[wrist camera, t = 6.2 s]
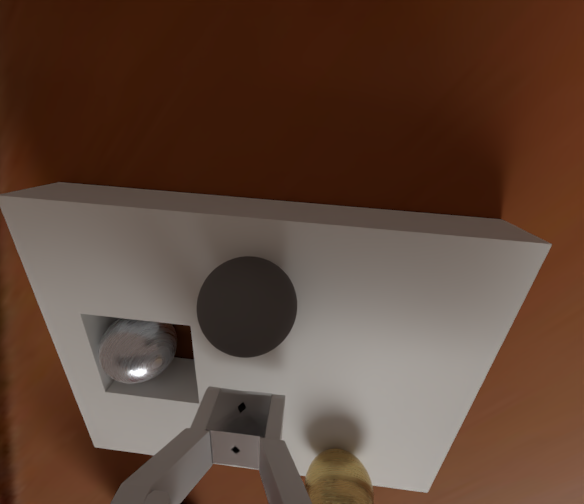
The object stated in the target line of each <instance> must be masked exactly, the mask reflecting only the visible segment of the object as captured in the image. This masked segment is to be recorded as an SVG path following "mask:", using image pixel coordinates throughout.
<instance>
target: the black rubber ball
mask: <svg viewBox="0 0 584 504" xmlns="http://www.w3.org/2000/svg"><path fill="white" fill-rule="evenodd" d="M296 315H297V296H296V292H295V289H294V286H293V284H292V282H291V280H290V279H289V277H288V275H287V274H286V273H285V272H284V271H283V270H282V269H281V268H280V267H279V266H277V265H276V264H274V263H272V262H271V261H269V260H266V259H263V258H260V257H253V256H244V257H237V258H234V259H231V260H228V261H226V262H224V263H222V264H221V265H219V266H218V267H217V268H215V269H214V270H213V271H212V272H211V273H210V274H209V275H208V277H207V278H206V279H205V281H204V283H203V285H202V287H201V289H200V292H199V295H198V299H197V318H198V322H199V325H200V328H201V330H202V332H203V334H204V336H205V337H206V338H207V340H208V341H209V342H210V343H211V344H212V345H213V346H214V347H215V348H217V349H218V350H220V351H221V352H223V353H225V354H228V355H231V356H235V357H241V358H250V357H256V356H260V355H263V354H266V353H268V352H269V351H271V350H273V349H275V348H276V347H277V346H278V345H280V344H281V343H282V342H283V341H284V340H285V338H286V337H287V336H288V334H289V333H290V331H291V329H292V327H293V325H294V322H295V319H296Z"/></svg>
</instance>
